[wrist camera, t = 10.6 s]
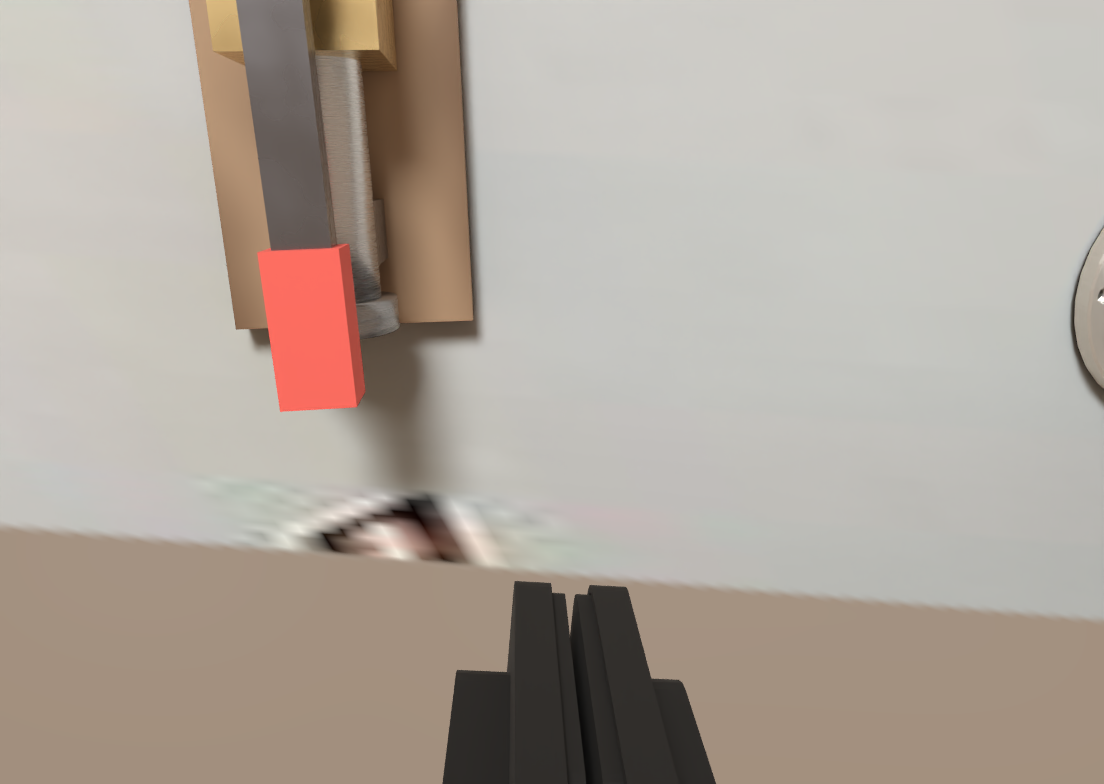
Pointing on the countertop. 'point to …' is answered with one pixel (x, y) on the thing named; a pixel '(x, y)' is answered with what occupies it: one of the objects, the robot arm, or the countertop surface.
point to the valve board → (394, 166)
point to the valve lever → (299, 215)
